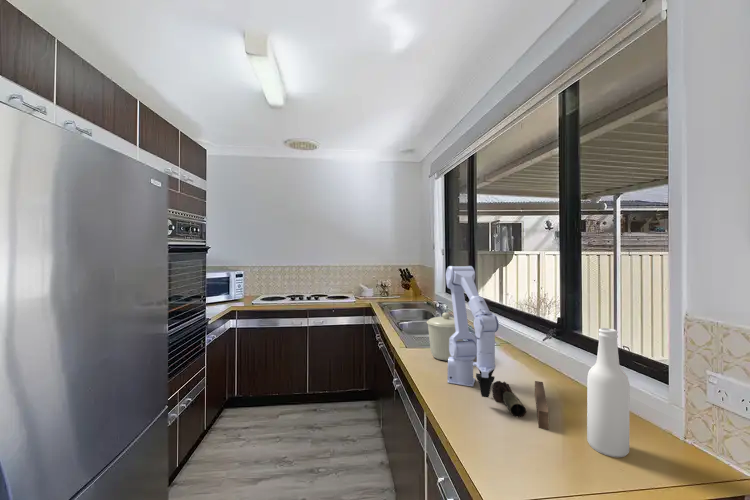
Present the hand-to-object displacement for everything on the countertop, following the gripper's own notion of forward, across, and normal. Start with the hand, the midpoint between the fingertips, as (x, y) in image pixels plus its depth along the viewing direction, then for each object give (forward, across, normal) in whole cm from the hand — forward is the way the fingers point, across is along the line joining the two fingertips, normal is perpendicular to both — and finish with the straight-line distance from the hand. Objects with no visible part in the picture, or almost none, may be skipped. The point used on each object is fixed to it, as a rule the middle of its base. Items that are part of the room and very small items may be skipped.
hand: (485, 392), depth 112 cm
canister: (+3, -42, -19) cm, 46 cm away
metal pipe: (+3, 0, +6) cm, 7 cm away
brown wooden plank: (+3, +1, +16) cm, 17 cm away
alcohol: (+3, +18, +30) cm, 35 cm away
